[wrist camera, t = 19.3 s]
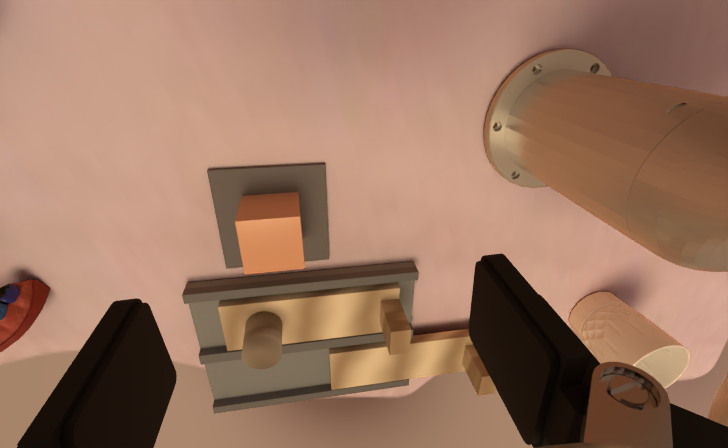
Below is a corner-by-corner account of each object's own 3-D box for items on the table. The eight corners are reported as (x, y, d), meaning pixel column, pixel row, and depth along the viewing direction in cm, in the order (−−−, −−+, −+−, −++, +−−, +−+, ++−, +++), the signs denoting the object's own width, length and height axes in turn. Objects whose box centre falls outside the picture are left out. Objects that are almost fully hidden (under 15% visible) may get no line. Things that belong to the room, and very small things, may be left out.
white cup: (558, 306, 48) (617, 369, 40) (615, 276, 48) (688, 333, 39) (571, 342, 52) (627, 407, 44) (624, 315, 52) (693, 375, 43)
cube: (298, 191, 35) (300, 216, 30) (302, 239, 37) (304, 268, 33) (241, 195, 34) (234, 221, 30) (249, 244, 36) (244, 274, 32)
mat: (324, 163, 34) (325, 164, 34) (328, 257, 39) (329, 259, 39) (208, 169, 33) (207, 170, 33) (226, 266, 38) (226, 268, 37)
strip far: (478, 327, 46) (501, 365, 41) (471, 361, 49) (492, 401, 44) (328, 346, 43) (334, 389, 38) (330, 381, 46) (335, 426, 41)
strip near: (396, 281, 41) (412, 318, 36) (394, 322, 43) (408, 362, 38) (219, 299, 38) (209, 342, 33) (229, 342, 41) (220, 388, 36)
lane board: (413, 261, 41) (418, 272, 39) (404, 372, 49) (408, 385, 47) (187, 282, 38) (182, 295, 36) (217, 398, 46) (214, 413, 44)
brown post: (280, 309, 38) (279, 338, 35) (283, 336, 40) (283, 366, 36) (242, 313, 38) (238, 343, 34) (248, 340, 39) (244, 371, 36)
